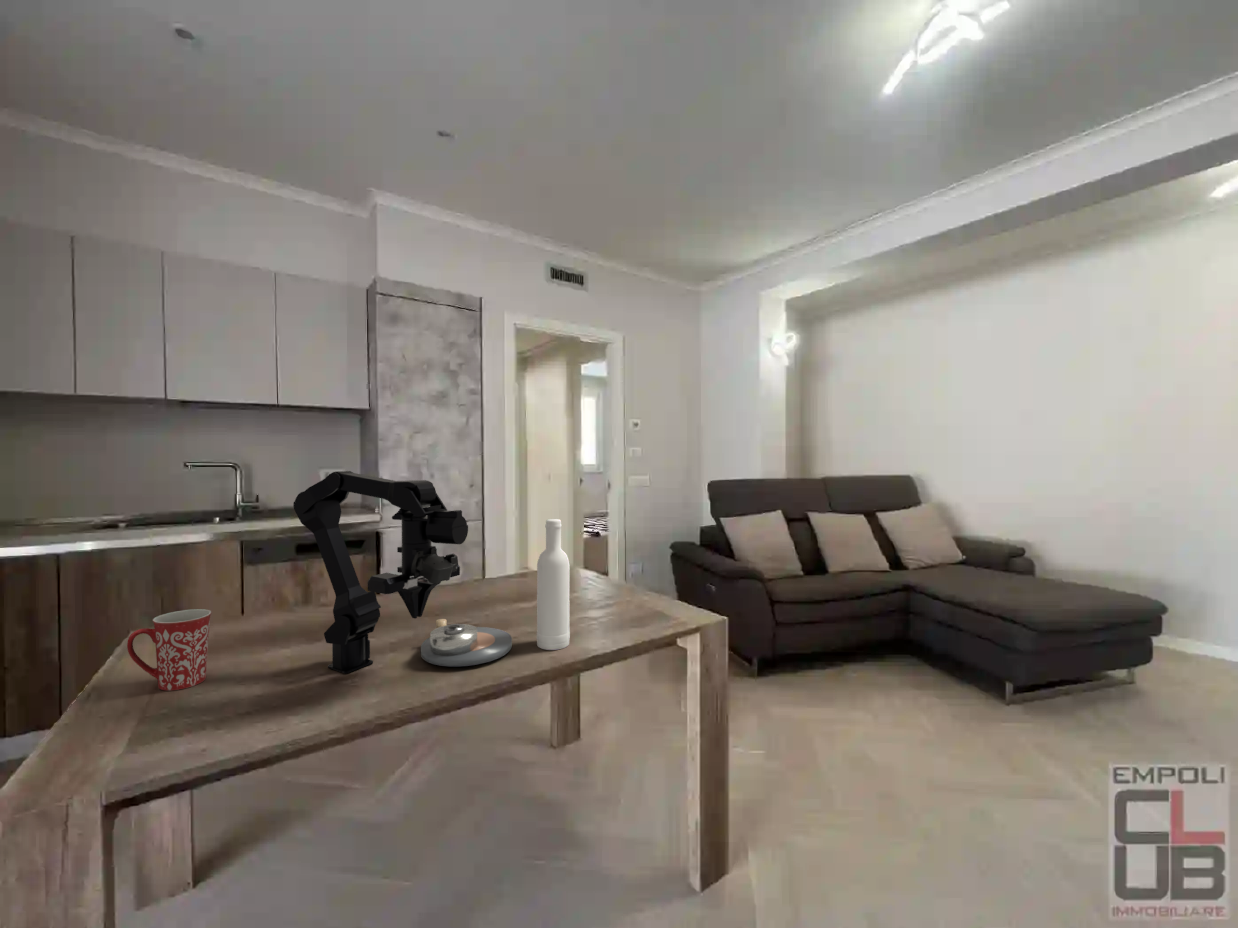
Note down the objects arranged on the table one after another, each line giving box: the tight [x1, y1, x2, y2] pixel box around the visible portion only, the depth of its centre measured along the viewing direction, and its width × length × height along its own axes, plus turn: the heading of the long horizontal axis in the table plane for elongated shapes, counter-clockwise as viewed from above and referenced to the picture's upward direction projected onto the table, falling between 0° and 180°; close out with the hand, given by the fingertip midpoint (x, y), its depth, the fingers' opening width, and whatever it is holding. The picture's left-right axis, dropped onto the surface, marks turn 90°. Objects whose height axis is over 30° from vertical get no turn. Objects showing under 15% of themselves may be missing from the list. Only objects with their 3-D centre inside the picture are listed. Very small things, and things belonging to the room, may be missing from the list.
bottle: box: [536, 518, 571, 651], centre depth 125 cm, size 8×8×30 cm
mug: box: [126, 608, 212, 692], centre depth 103 cm, size 13×9×14 cm
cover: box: [429, 623, 477, 656], centre depth 116 cm, size 10×10×5 cm
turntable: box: [420, 618, 513, 667], centre depth 120 cm, size 20×20×5 cm
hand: (416, 617), depth 108 cm, fingers closed
